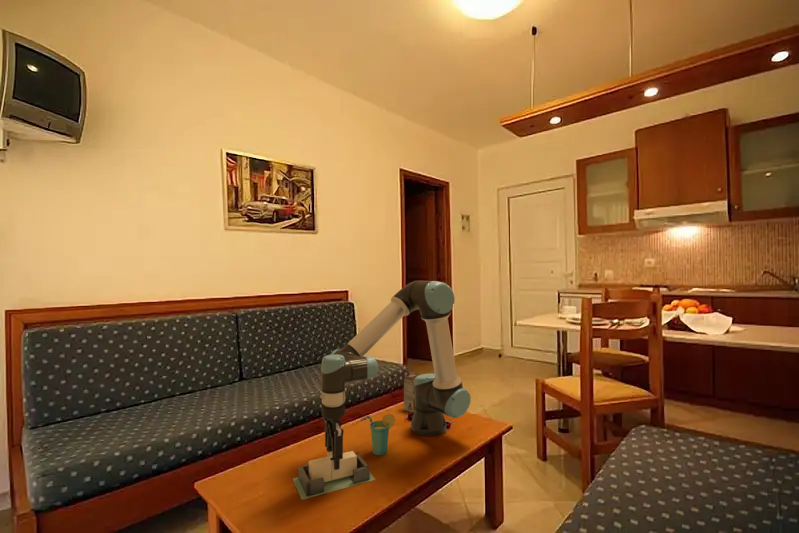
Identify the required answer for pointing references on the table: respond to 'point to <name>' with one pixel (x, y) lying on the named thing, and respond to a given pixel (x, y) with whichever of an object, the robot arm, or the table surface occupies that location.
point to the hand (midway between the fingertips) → (333, 474)
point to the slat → (323, 467)
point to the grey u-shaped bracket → (360, 471)
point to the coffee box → (409, 392)
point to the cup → (380, 433)
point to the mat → (329, 485)
